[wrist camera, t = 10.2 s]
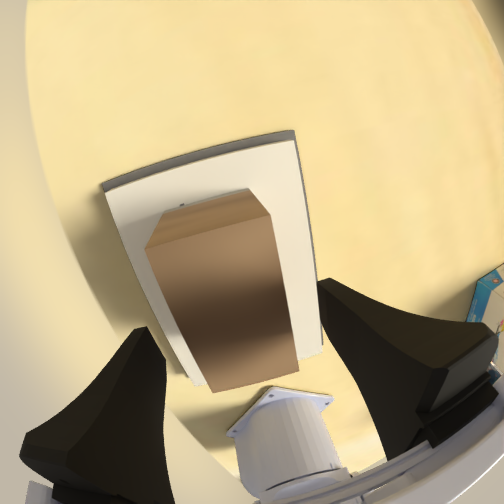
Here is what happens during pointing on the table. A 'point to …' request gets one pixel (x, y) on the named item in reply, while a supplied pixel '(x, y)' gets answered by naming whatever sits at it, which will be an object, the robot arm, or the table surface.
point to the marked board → (214, 184)
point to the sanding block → (225, 288)
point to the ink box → (491, 309)
